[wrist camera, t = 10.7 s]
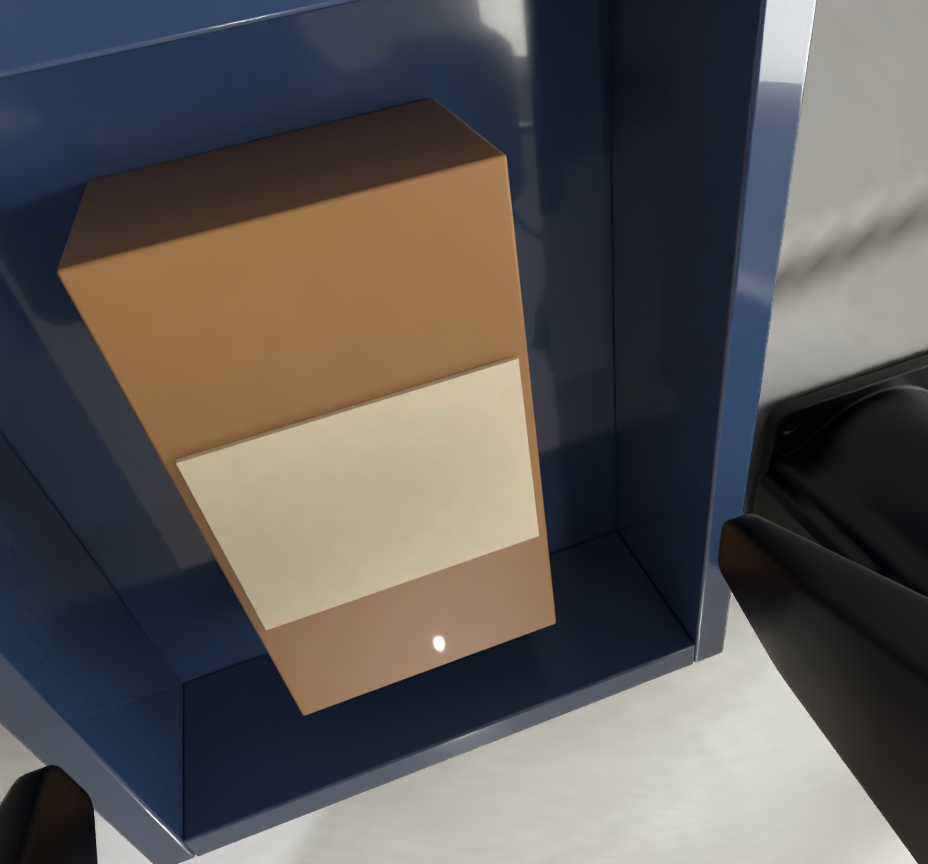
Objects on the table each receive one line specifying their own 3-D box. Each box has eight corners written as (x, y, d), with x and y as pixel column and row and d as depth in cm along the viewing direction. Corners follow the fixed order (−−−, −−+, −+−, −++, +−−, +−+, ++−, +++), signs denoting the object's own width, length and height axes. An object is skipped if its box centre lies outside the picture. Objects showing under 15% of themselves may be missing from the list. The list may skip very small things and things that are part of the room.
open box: (635, -164, 11) (847, -196, 7) (632, 525, 21) (724, 653, 17) (-342, 26, 9) (-683, 104, 5) (164, 690, 19) (159, 872, 15)
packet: (433, 96, 12) (510, 156, 9) (501, 516, 18) (558, 627, 15) (85, 180, 11) (53, 275, 8) (284, 590, 17) (303, 722, 14)
